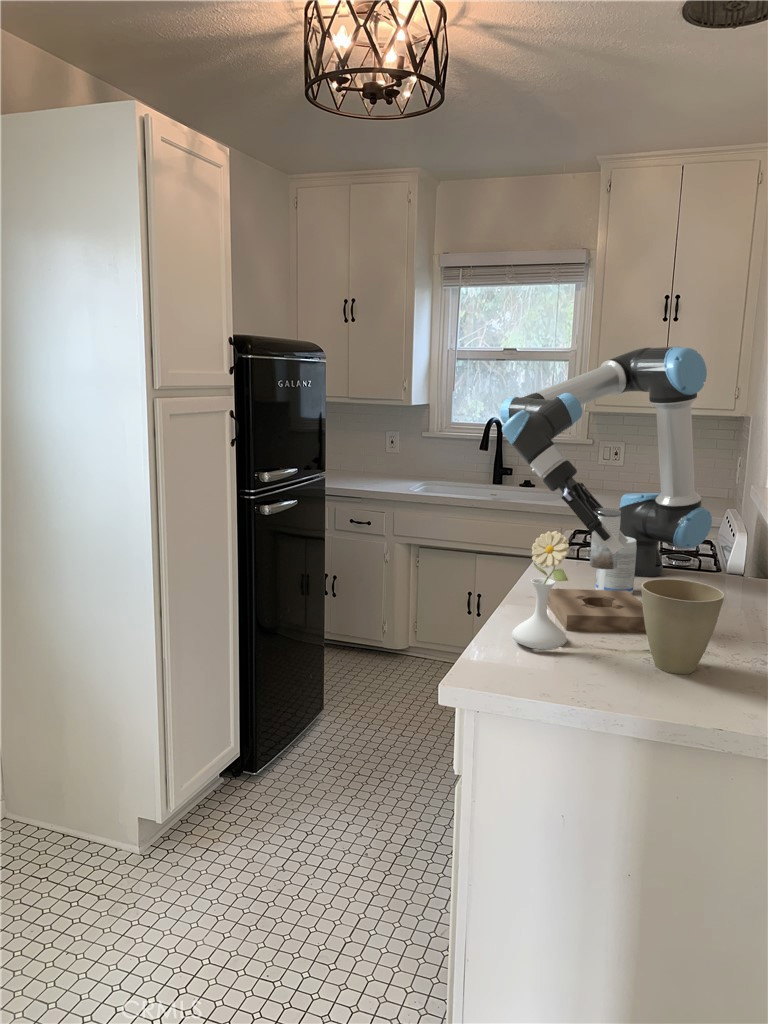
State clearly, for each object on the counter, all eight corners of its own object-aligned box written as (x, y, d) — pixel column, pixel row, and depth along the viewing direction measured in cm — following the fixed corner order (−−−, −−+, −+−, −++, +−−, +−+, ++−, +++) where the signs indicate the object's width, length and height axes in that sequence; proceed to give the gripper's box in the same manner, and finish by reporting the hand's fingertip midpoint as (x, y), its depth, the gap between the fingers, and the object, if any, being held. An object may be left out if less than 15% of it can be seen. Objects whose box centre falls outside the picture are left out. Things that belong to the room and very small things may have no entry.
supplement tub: (640, 595, 193) (645, 540, 190) (616, 600, 188) (621, 544, 185) (610, 586, 201) (615, 533, 198) (586, 590, 196) (591, 536, 193)
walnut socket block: (626, 608, 182) (627, 590, 181) (656, 636, 162) (658, 617, 161) (545, 606, 181) (546, 588, 180) (565, 634, 162) (567, 615, 161)
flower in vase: (500, 638, 158) (507, 524, 154) (545, 632, 163) (553, 521, 158) (536, 660, 147) (545, 537, 142) (582, 653, 151) (593, 534, 146)
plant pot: (636, 648, 155) (643, 574, 152) (714, 660, 149) (723, 584, 146) (630, 673, 141) (638, 593, 138) (715, 688, 136) (725, 605, 133)
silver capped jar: (612, 563, 172) (616, 508, 170) (620, 569, 166) (624, 512, 164) (586, 562, 172) (590, 507, 170) (593, 569, 166) (597, 512, 164)
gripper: (552, 474, 181) (615, 548, 177) (530, 484, 164) (599, 566, 160) (575, 454, 177) (640, 529, 173) (556, 462, 161) (627, 545, 157)
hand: (620, 547), depth 167 cm, fingers closed on silver capped jar, 6 cm apart
